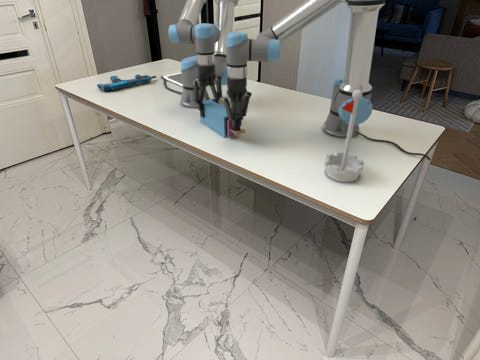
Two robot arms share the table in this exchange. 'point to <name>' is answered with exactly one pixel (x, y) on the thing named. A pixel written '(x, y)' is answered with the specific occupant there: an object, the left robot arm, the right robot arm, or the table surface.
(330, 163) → the flag stand
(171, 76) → the tablet
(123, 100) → the table surface
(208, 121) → the cabinet
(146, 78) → the submachine gun
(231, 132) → the drawer
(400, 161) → the table surface
